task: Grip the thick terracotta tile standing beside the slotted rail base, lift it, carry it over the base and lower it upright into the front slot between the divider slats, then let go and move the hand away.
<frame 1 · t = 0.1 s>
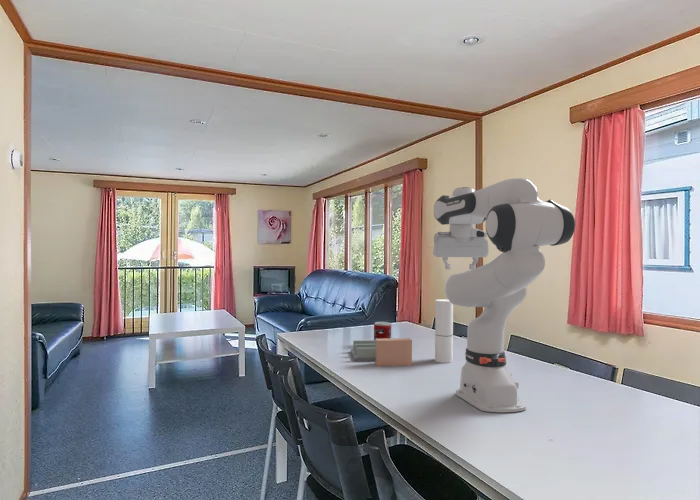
hand: (459, 269, 160), 39 cm above the table, tool pointing down, fingers open, 8 cm apart
canned food: (382, 346, 202), on the table
slotted rail base: (378, 356, 184), on the table
terracotta tile: (393, 364, 171), on the table
cylindrical container: (443, 361, 177), on the table
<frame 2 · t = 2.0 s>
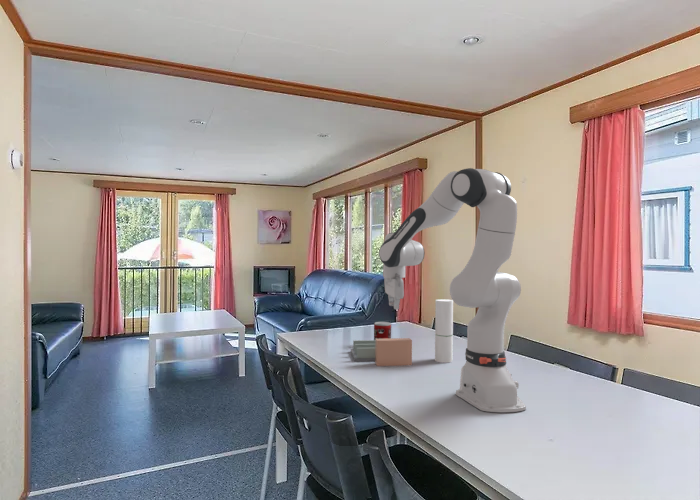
hand: (393, 307, 171), 23 cm above the table, tool pointing down, fingers open, 8 cm apart
nothing on the table moved.
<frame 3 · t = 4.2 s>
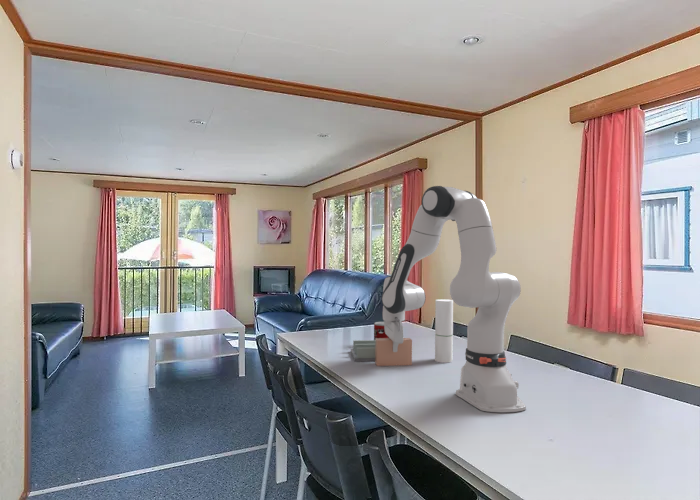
hand: (393, 350, 171), 6 cm above the table, tool pointing down, fingers closed on terracotta tile, 4 cm apart
terracotta tile: (393, 364, 171), on the table, touching gripper
everything else where it was.
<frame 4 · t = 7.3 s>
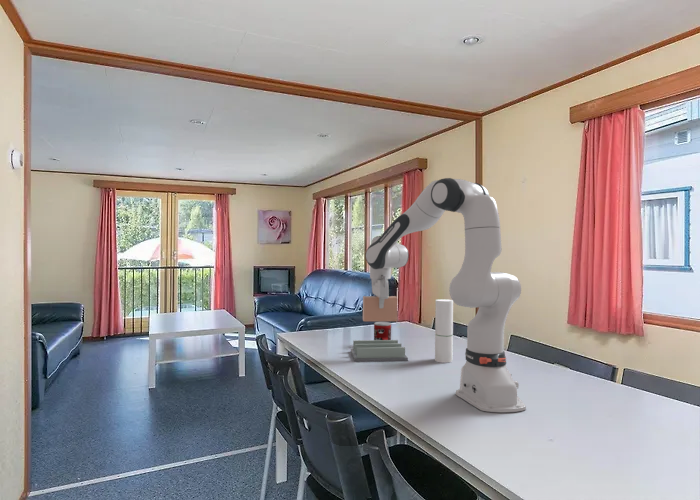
hand: (379, 307, 180), 21 cm above the table, tool pointing down, fingers closed on terracotta tile, 4 cm apart
terracotta tile: (379, 320, 180), point 16 cm above the table, touching gripper
everything else where it was.
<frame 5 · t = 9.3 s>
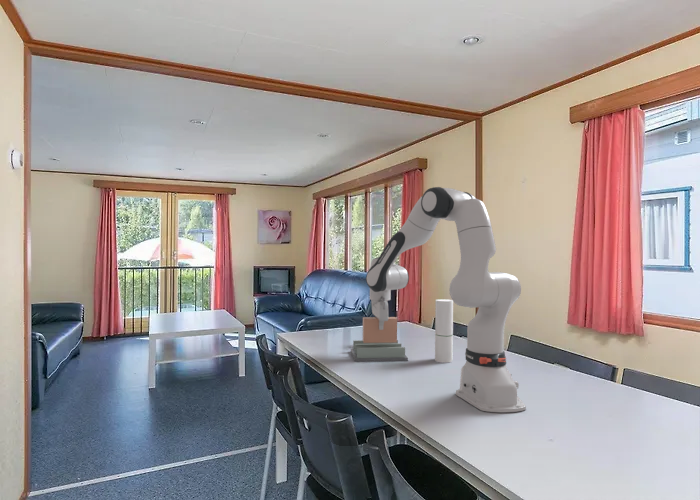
hand: (379, 328, 180), 13 cm above the table, tool pointing down, fingers closed on terracotta tile, 4 cm apart
terracotta tile: (379, 341, 180), point 7 cm above the table, touching gripper
everything else where it was.
when the fingers open (8 cm above the table, at t = 10.8 s): terracotta tile drops 1 cm, resting on slotted rail base.
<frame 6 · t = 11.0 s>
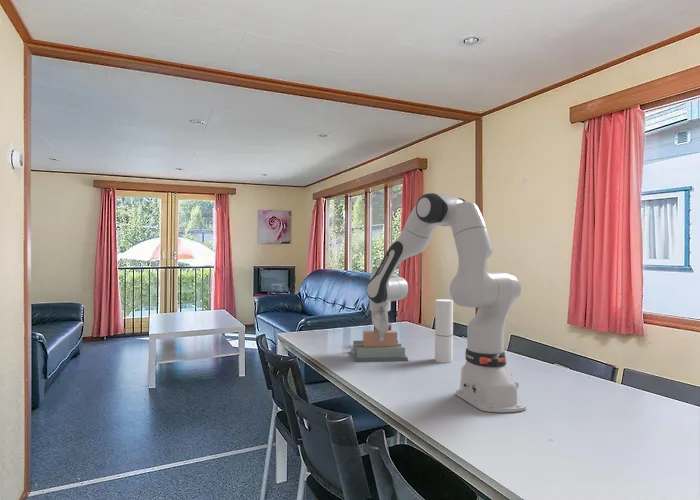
hand: (379, 339, 180), 8 cm above the table, tool pointing down, fingers open, 6 cm apart
terracotta tile: (379, 355, 180), point 1 cm above the table, touching slotted rail base
everything else where it was.
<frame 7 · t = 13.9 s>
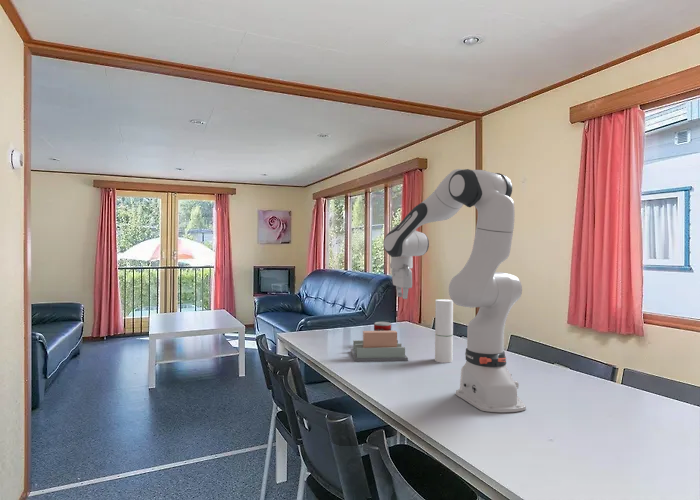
hand: (402, 297, 176), 26 cm above the table, tool pointing down, fingers open, 8 cm apart
nothing on the table moved.
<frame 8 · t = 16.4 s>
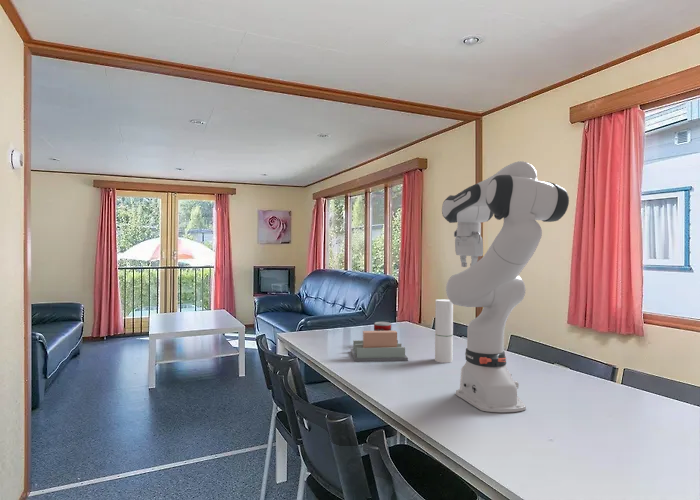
hand: (468, 267, 167), 39 cm above the table, tool pointing down, fingers open, 8 cm apart
nothing on the table moved.
at the end: terracotta tile 0.1 cm from the target spot on the slotted rail base, point 1.2 cm above the slotted rail base's base; terracotta tile tilted 0°; the gripper is holding nothing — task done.
